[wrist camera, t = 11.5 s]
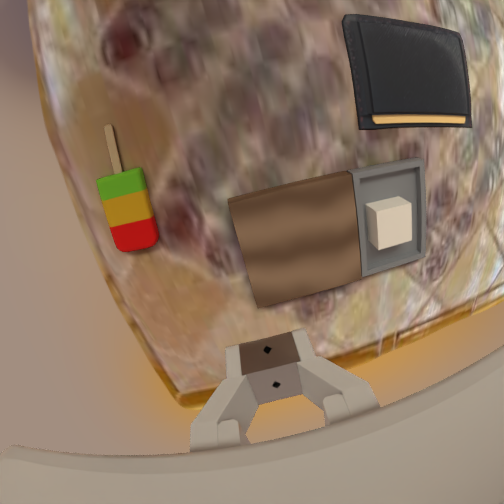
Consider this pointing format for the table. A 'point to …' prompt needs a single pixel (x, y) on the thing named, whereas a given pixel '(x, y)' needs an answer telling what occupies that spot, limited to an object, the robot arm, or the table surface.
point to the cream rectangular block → (389, 222)
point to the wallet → (407, 74)
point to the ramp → (298, 237)
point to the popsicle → (127, 203)
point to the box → (384, 187)
